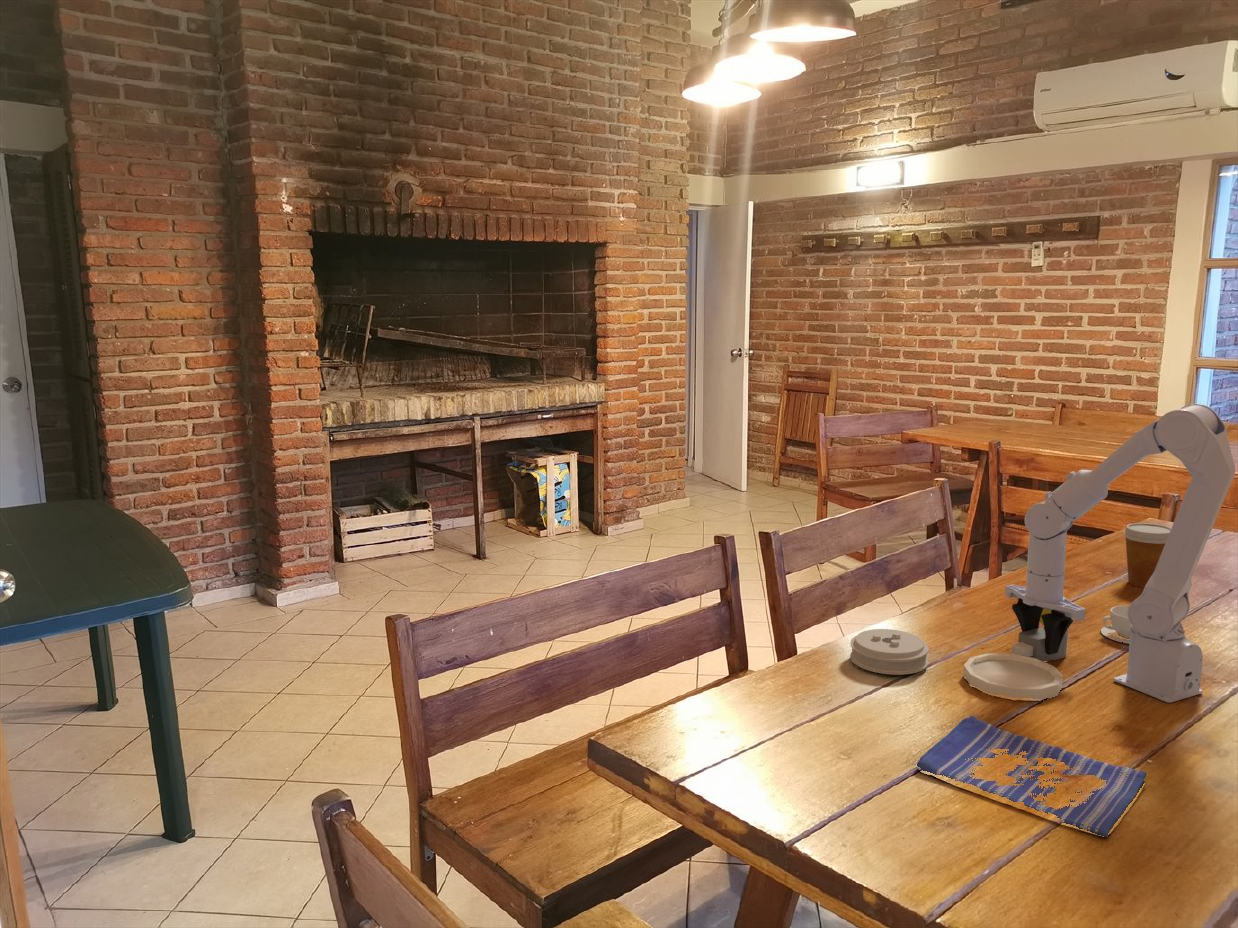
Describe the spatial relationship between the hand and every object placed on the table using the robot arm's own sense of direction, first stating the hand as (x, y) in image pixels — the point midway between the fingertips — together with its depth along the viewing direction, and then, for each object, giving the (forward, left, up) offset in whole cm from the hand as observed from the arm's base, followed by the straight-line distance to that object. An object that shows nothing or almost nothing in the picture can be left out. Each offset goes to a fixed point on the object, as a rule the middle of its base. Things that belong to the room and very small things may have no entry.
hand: (1040, 648), depth 155 cm
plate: (-5, +12, -2) cm, 13 cm away
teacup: (-1, -22, -2) cm, 22 cm away
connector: (0, 0, -2) cm, 2 cm away
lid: (+10, +24, -2) cm, 26 cm away
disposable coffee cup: (+18, -51, -2) cm, 54 cm away
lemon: (+8, -12, -2) cm, 15 cm away
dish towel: (-27, +33, -2) cm, 43 cm away
